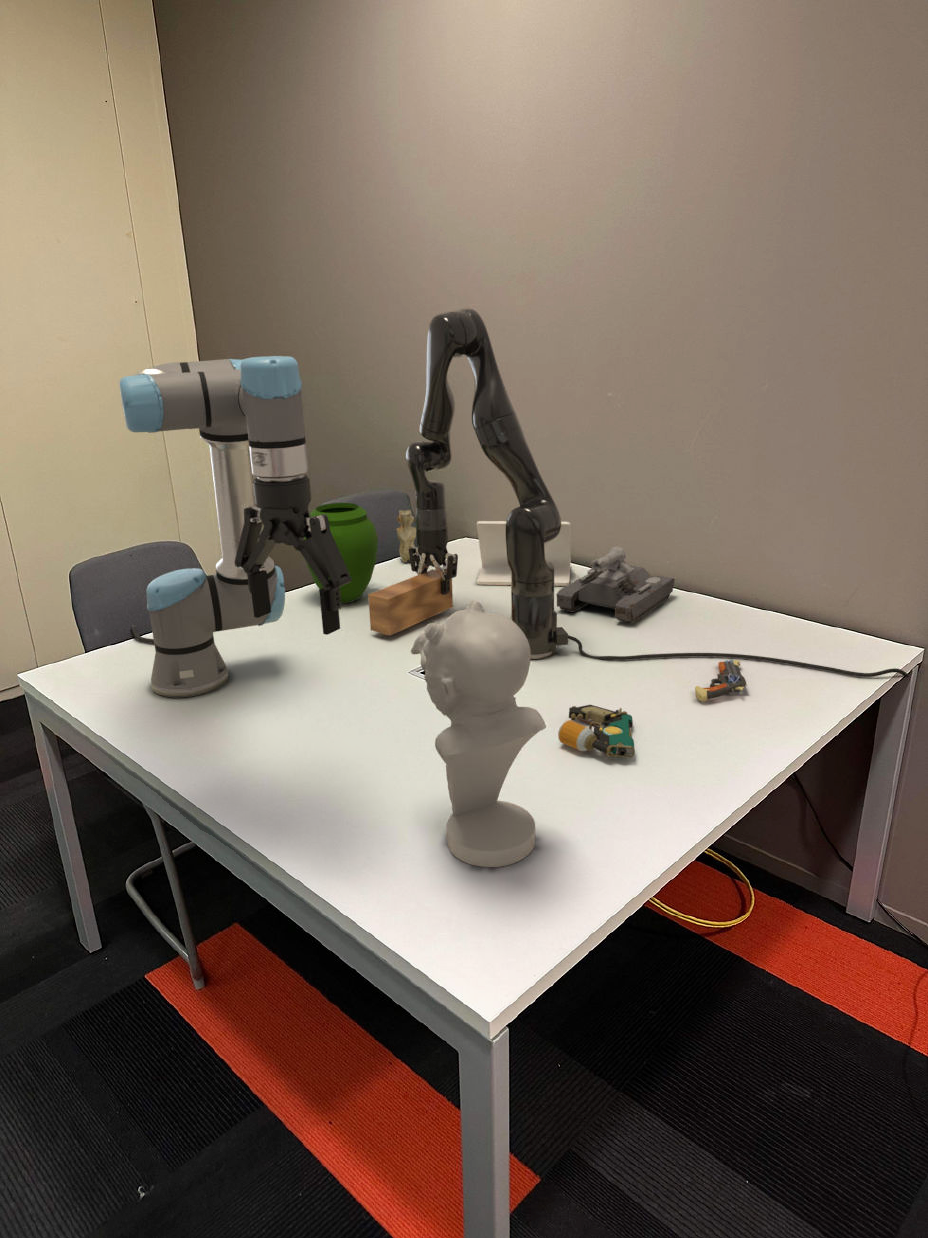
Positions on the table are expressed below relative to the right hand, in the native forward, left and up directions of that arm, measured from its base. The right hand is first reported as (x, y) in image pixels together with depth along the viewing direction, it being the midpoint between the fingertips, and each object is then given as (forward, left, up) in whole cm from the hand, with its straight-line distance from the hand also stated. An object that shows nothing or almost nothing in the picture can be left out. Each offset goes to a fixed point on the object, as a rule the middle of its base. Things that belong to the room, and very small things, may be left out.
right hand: (434, 591), depth 210 cm
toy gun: (-48, +55, -6) cm, 73 cm away
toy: (-45, +6, -6) cm, 46 cm away
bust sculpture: (+11, +92, -6) cm, 93 cm away
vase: (+21, -18, -6) cm, 28 cm away
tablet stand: (-29, -24, -6) cm, 39 cm away
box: (+6, +5, -5) cm, 9 cm away
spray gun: (-18, +70, -6) cm, 73 cm away
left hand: (+33, +79, +24) cm, 89 cm away
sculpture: (0, -48, -6) cm, 48 cm away
